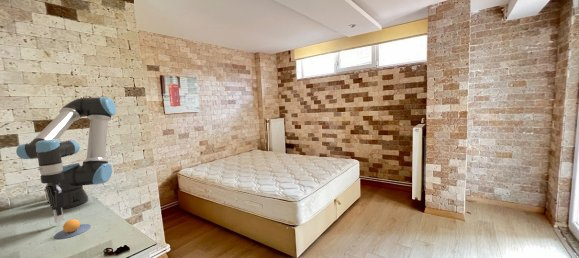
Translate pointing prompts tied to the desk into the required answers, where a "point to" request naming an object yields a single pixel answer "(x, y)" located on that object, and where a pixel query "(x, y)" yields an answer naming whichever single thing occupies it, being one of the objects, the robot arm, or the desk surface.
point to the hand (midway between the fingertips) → (59, 221)
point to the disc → (80, 230)
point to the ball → (71, 226)
